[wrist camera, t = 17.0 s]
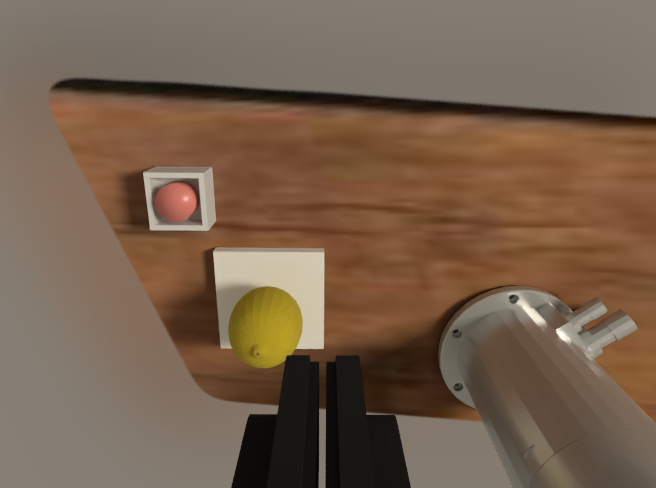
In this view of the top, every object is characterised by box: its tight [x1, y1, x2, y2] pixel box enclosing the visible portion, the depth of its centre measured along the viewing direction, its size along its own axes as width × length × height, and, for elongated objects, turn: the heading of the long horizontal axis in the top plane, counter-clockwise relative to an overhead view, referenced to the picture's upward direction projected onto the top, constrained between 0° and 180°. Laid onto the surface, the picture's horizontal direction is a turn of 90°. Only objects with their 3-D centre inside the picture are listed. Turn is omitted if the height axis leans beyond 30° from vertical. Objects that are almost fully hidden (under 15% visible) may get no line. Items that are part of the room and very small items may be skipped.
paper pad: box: [213, 247, 324, 349], centre depth 39 cm, size 9×9×1 cm
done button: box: [155, 181, 199, 222], centre depth 34 cm, size 3×3×2 cm
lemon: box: [228, 286, 303, 368], centre depth 35 cm, size 6×6×8 cm
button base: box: [143, 166, 216, 231], centre depth 35 cm, size 4×4×3 cm
